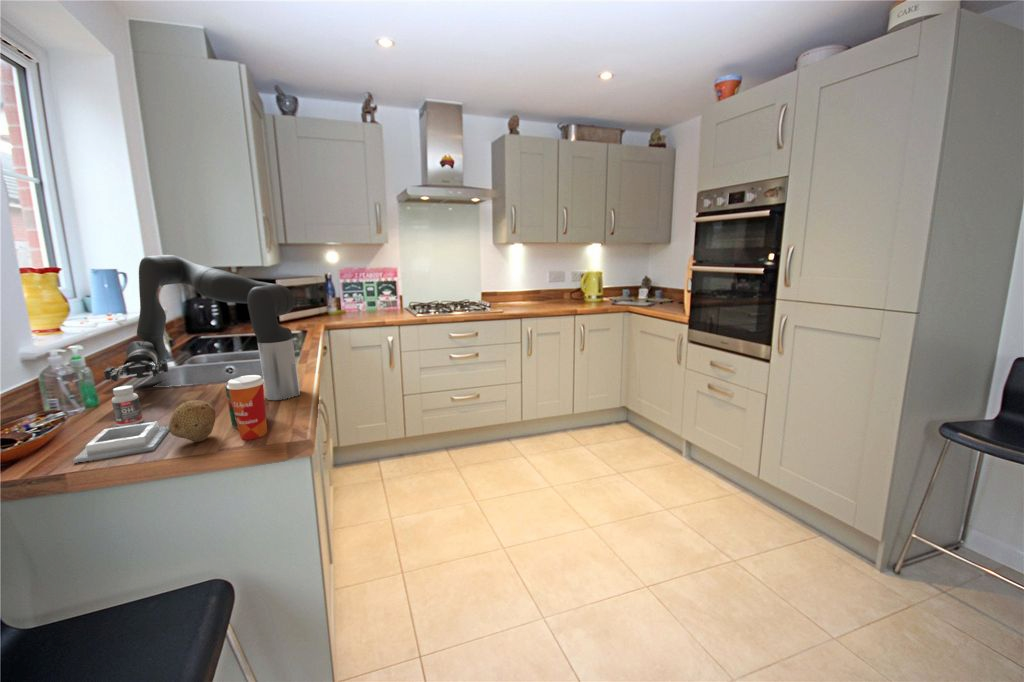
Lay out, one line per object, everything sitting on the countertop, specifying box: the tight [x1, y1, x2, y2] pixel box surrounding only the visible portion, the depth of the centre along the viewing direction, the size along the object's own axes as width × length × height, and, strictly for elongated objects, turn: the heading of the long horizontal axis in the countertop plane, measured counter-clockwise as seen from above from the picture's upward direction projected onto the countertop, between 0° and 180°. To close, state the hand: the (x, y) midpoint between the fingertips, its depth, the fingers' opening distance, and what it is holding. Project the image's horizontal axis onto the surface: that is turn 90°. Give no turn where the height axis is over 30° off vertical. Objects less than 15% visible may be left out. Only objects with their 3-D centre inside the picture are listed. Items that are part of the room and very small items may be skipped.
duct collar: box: [72, 420, 170, 464], centre depth 107 cm, size 14×14×3 cm
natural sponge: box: [168, 399, 217, 443], centre depth 106 cm, size 9×9×10 cm
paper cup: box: [227, 374, 268, 441], centre depth 109 cm, size 8×8×14 cm
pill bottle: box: [111, 385, 144, 427], centre depth 120 cm, size 5×5×10 cm
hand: (135, 375), depth 128 cm, fingers open, 8 cm apart
